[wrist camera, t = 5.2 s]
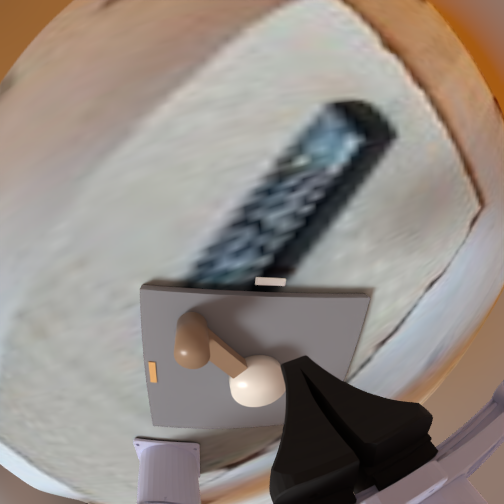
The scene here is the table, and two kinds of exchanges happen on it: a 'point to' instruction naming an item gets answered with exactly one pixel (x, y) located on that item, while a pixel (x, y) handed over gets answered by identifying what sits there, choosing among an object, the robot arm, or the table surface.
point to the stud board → (241, 347)
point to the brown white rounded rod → (228, 362)
